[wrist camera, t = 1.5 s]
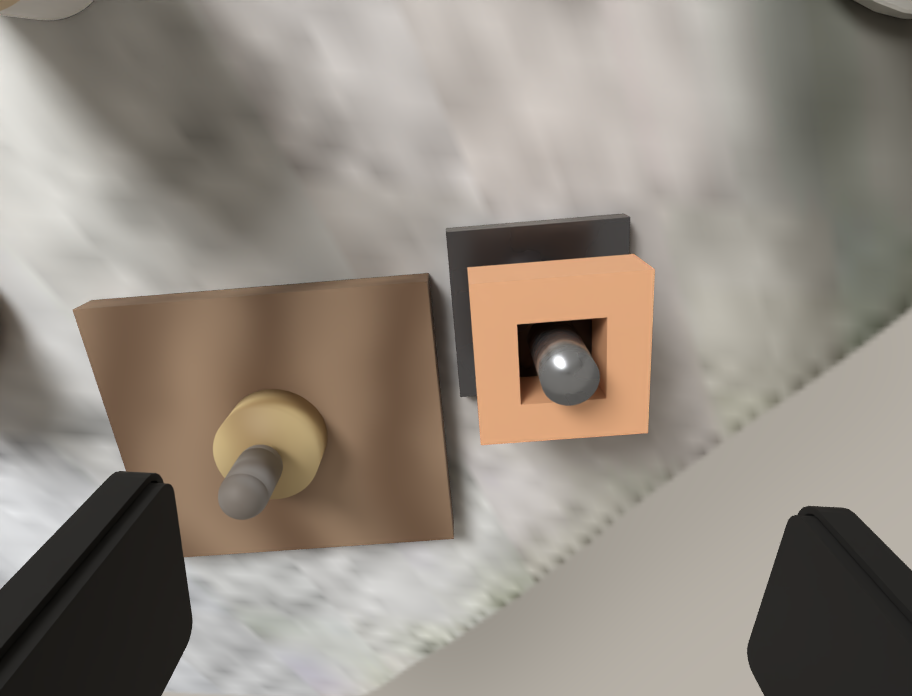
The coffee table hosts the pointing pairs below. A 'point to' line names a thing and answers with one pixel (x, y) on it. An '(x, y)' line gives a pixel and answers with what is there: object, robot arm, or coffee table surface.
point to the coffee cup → (42, 8)
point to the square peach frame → (560, 299)
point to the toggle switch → (281, 410)
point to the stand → (547, 343)
